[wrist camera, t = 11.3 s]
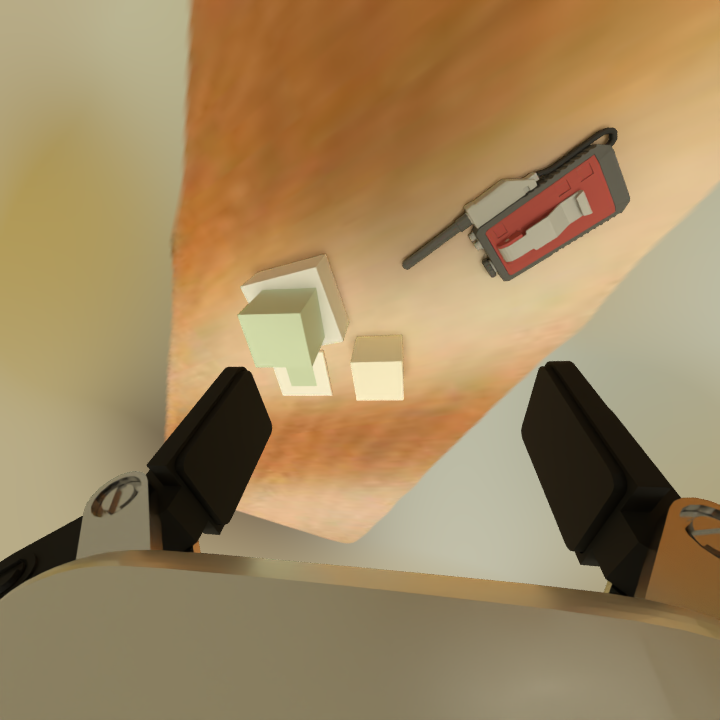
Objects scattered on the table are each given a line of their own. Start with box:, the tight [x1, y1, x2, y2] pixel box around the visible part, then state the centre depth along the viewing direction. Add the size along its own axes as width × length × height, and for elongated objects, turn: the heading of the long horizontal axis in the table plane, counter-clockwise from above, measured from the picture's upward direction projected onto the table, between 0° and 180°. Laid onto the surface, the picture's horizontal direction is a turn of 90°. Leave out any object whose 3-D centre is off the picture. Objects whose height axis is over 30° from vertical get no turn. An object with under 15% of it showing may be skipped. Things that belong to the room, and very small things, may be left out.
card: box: [273, 350, 333, 396], centre depth 44 cm, size 8×8×1 cm
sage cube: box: [238, 288, 325, 368], centre depth 31 cm, size 6×6×6 cm
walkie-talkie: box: [402, 128, 630, 281], centre depth 29 cm, size 9×4×20 cm
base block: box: [240, 254, 349, 346], centre depth 35 cm, size 9×9×5 cm
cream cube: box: [350, 335, 404, 400], centre depth 38 cm, size 6×6×6 cm
